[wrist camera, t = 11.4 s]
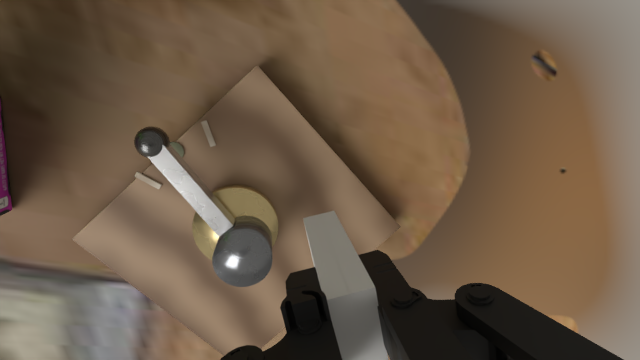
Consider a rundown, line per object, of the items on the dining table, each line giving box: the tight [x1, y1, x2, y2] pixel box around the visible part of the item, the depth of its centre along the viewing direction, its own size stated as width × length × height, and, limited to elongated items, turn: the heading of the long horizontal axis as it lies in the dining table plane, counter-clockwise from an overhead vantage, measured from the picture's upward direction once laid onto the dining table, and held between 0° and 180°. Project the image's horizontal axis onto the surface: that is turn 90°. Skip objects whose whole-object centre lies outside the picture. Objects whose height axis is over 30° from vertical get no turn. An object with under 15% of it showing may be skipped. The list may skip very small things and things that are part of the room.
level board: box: [72, 65, 400, 356], centre depth 36 cm, size 24×22×2 cm
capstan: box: [134, 127, 278, 287], centre depth 30 cm, size 16×8×6 cm, turn 35°
